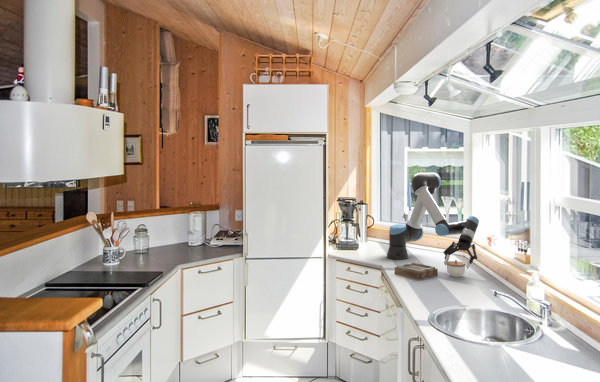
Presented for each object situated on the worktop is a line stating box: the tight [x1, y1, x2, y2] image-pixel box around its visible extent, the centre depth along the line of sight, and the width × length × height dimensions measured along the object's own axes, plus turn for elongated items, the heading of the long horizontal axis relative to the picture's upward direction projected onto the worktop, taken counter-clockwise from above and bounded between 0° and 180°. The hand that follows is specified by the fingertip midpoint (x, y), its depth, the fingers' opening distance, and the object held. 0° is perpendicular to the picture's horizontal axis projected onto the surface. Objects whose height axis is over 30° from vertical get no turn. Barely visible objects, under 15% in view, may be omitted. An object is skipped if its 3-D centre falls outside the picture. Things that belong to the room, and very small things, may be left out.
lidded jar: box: [446, 259, 467, 278], centre depth 258 cm, size 11×11×9 cm
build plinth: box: [394, 262, 439, 281], centre depth 261 cm, size 18×18×5 cm
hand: (456, 265), depth 257 cm, fingers open, 13 cm apart
